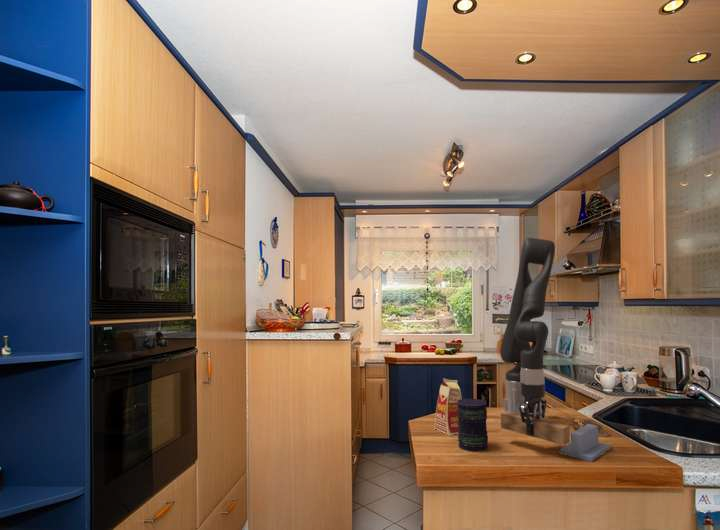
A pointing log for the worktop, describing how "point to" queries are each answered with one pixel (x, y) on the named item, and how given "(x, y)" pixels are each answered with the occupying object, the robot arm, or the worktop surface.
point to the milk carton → (448, 407)
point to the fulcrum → (585, 444)
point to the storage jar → (472, 425)
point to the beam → (537, 428)
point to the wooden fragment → (600, 432)
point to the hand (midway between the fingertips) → (533, 433)
